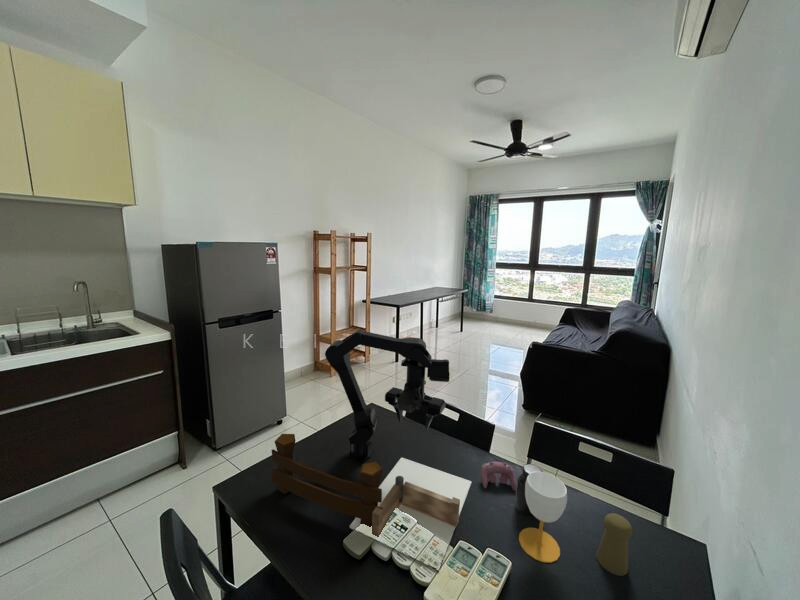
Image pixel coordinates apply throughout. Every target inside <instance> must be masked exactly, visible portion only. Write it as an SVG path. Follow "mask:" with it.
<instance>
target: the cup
mask: <svg viewBox="0 0 800 600" xmlns="http://www.w3.org/2000/svg"><path fill="white" fill-rule="evenodd" d="M567 491H568V490H567V487H566V485H565V484H564V482H563V481H562V480H560V479H559V478H558V477H557V476H554V475H553V474H551V473H549V472H544V471H543V472H533V473H530V474H529V475H528V477H527V480H526V484H525V497H526V502H527V505H528V507H529V510H530V512H531V513H532V514H533V515H534V516H535V517H536V518H537V519H536V520H538V521H539V524H538V525H539V527H538V528H536V527H527V528H524V529H523V528H522V530H521V531H520V532H519V534H518V541H519V545H520V546H521V547H520V548H521V549H522V550H523V551H524V552H525V553H526V555H528V556H530V557H531V558H532V559H534V560H536V561H539V562H541V563H545V564H546V563H547V564H548V563H549V564H552V563H555V562H557V561H558V559H559V558H560V556H561V547H560V546H559V544H558V542H557V540H556V539H554V537H553V536H552V535H550V534H549V533H547V532H546V531H544V524H545V523H547V524H548V523H554V522H556V521H558V520H559V519H560V517H561V516H562V515H563V513H564V512H565V510H566V507H567V503H568V493H567Z"/></svg>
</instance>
